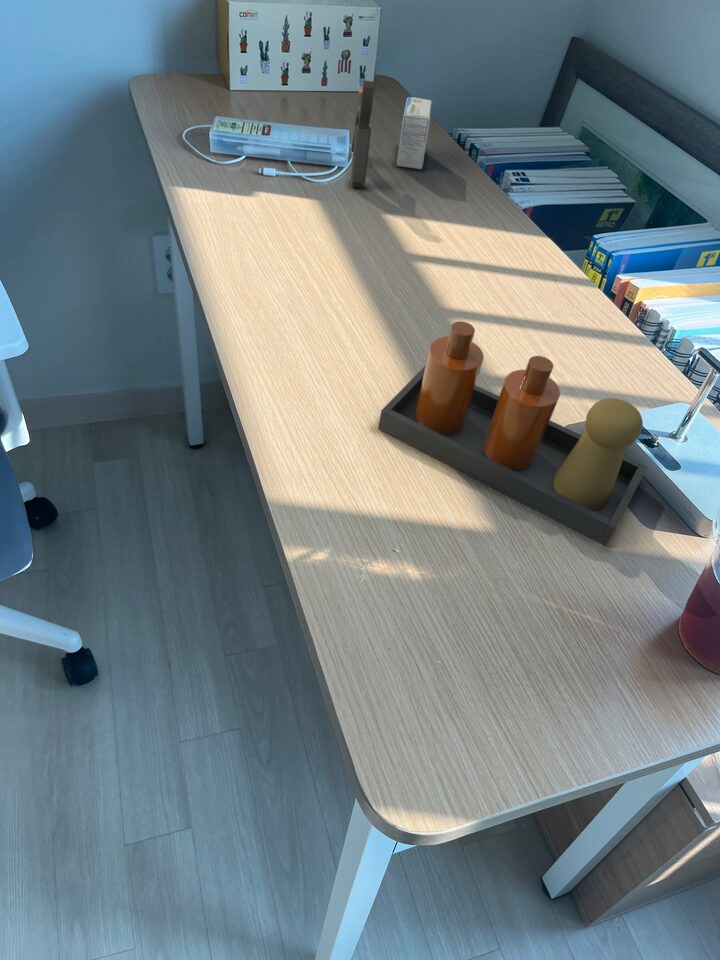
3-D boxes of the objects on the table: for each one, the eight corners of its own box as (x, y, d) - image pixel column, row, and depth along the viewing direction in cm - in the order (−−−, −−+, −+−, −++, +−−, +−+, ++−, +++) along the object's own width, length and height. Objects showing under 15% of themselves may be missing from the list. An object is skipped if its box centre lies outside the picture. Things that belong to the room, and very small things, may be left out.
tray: (637, 484, 81) (647, 466, 79) (605, 546, 75) (616, 528, 73) (423, 381, 89) (428, 362, 87) (377, 429, 82) (381, 410, 80)
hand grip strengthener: (363, 155, 129) (374, 60, 118) (364, 190, 120) (377, 91, 109) (349, 154, 128) (360, 58, 117) (350, 188, 120) (361, 89, 109)
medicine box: (421, 171, 127) (431, 118, 121) (395, 166, 127) (403, 113, 121) (424, 151, 133) (433, 99, 126) (398, 147, 133) (406, 95, 126)
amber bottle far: (473, 414, 85) (500, 326, 76) (450, 442, 81) (476, 352, 73) (429, 393, 86) (451, 305, 78) (405, 419, 83) (425, 329, 74)
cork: (612, 515, 77) (656, 437, 69) (553, 503, 77) (590, 424, 69) (608, 473, 81) (649, 395, 73) (552, 462, 81) (587, 383, 73)
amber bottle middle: (542, 448, 82) (578, 361, 74) (521, 478, 79) (557, 390, 70) (496, 426, 84) (526, 338, 75) (474, 454, 80) (503, 365, 72)
